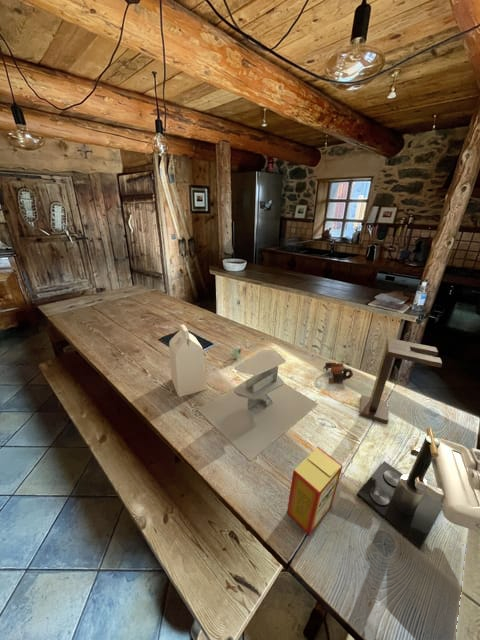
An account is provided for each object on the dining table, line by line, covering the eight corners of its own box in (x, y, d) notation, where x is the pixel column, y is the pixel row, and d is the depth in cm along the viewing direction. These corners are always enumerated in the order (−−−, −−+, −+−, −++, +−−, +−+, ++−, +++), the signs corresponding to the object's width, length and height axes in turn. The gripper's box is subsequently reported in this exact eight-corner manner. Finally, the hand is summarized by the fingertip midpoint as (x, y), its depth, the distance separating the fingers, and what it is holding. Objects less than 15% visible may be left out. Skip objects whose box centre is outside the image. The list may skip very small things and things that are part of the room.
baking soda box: (308, 535, 61) (319, 492, 54) (286, 512, 65) (293, 469, 59) (331, 506, 67) (342, 464, 60) (309, 487, 71) (318, 445, 64)
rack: (411, 412, 97) (436, 347, 85) (414, 432, 88) (442, 363, 77) (360, 397, 103) (377, 335, 91) (359, 415, 95) (377, 349, 83)
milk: (207, 389, 106) (204, 331, 95) (178, 397, 102) (172, 338, 90) (197, 372, 116) (194, 318, 105) (171, 379, 111) (165, 323, 100)
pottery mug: (321, 382, 112) (321, 363, 112) (326, 380, 120) (326, 362, 121) (352, 385, 106) (351, 364, 106) (355, 382, 114) (354, 363, 115)
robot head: (236, 353, 130) (236, 341, 127) (243, 355, 129) (244, 343, 126) (228, 361, 124) (228, 349, 121) (236, 363, 122) (236, 351, 119)
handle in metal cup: (413, 495, 69) (444, 432, 59) (417, 523, 63) (451, 457, 53) (391, 487, 71) (417, 424, 61) (392, 512, 65) (421, 448, 55)
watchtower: (250, 461, 78) (252, 411, 69) (196, 409, 96) (193, 364, 88) (318, 403, 100) (326, 360, 91) (264, 370, 118) (266, 331, 110)
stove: (442, 505, 67) (444, 502, 67) (419, 549, 59) (421, 546, 58) (383, 463, 78) (384, 460, 77) (356, 495, 69) (357, 492, 69)
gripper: (501, 550, 49) (415, 516, 54) (469, 463, 66) (405, 443, 72) (516, 529, 47) (423, 495, 52) (478, 444, 64) (411, 425, 69)
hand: (413, 465), depth 62 cm, fingers open, 8 cm apart
